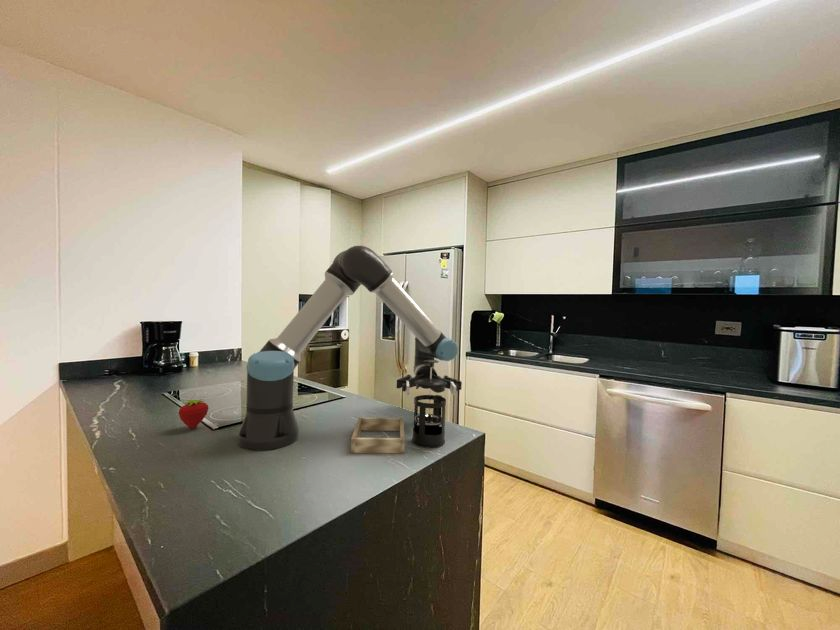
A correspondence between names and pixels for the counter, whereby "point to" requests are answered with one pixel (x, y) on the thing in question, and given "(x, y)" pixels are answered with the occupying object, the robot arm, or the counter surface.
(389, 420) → the wooden frame
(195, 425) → the strawberry
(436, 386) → the french press
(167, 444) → the counter surface
